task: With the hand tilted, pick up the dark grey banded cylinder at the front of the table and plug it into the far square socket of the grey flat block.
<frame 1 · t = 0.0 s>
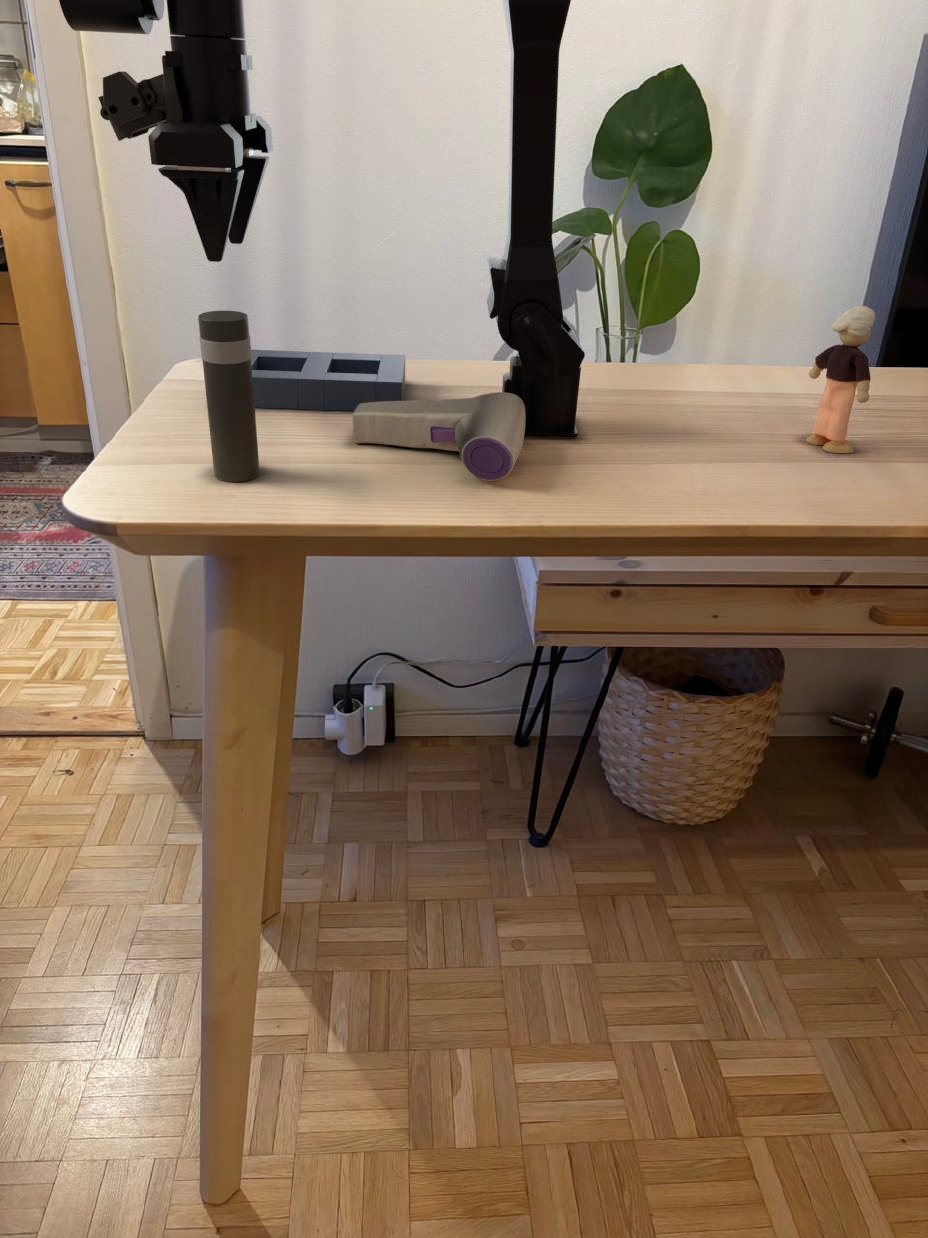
hand: (226, 251, 79), 15 cm above the table, tool pointing down, fingers open, 9 cm apart
grey flat block: (317, 394, 94), on the table
dark grey banded cylinder: (237, 473, 75), on the table
grandmother figurine: (824, 445, 87), on the table
infrared thermometer: (434, 459, 80), on the table
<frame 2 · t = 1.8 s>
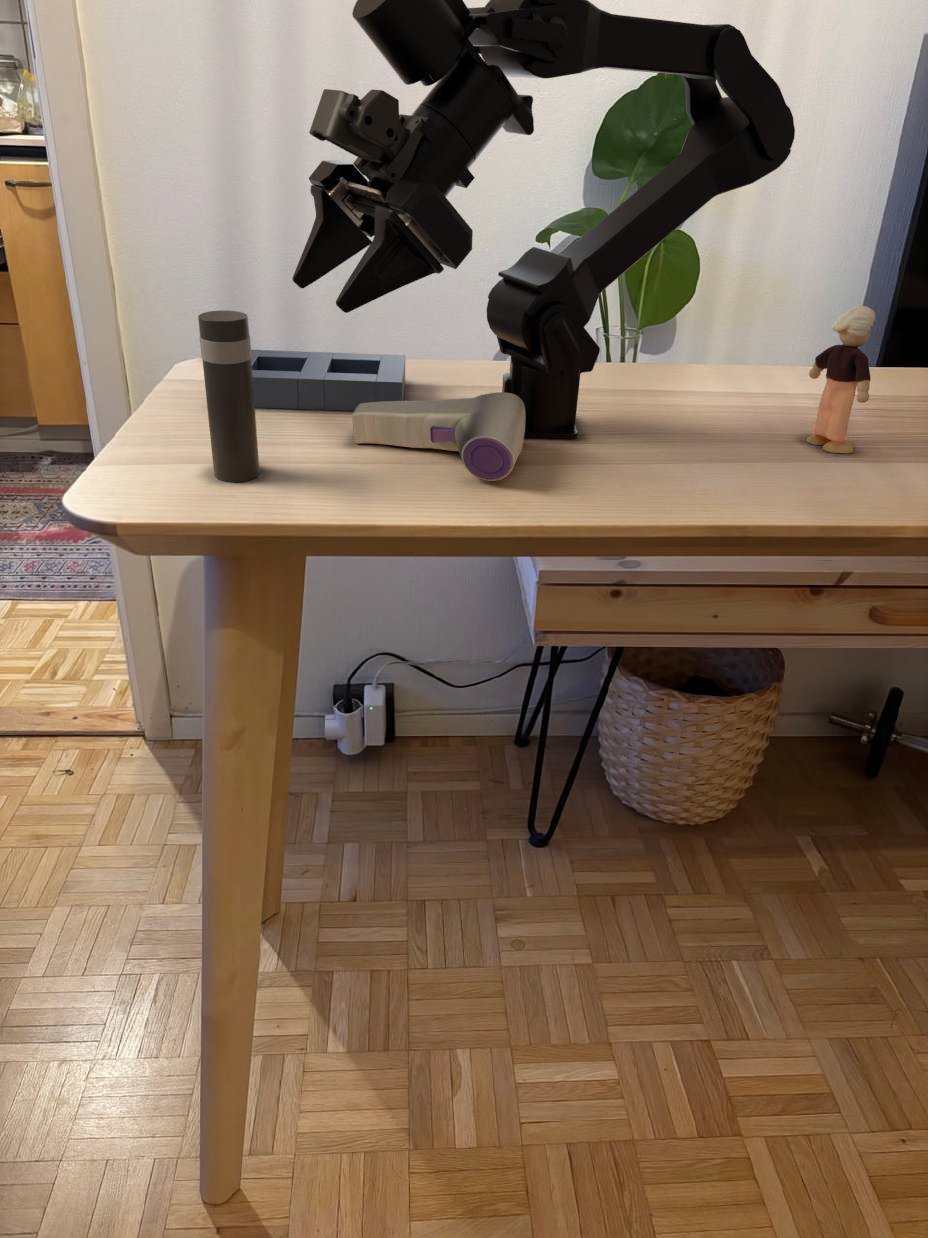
hand: (317, 295, 72), 13 cm above the table, tool tilted 45°, fingers open, 9 cm apart
nothing on the table moved.
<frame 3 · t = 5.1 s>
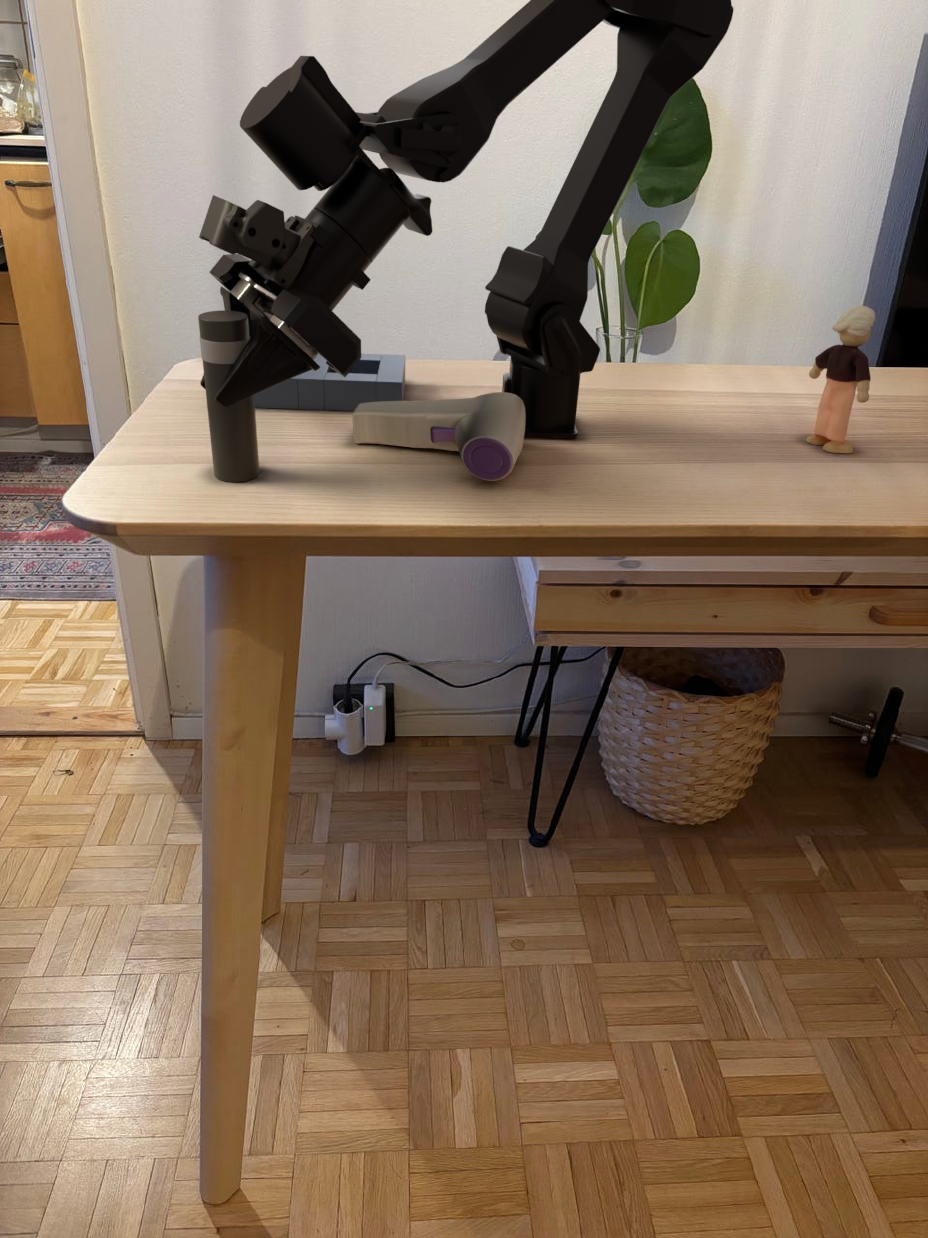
hand: (212, 395, 71), 7 cm above the table, tool tilted 45°, fingers closed on dark grey banded cylinder, 3 cm apart
dark grey banded cylinder: (237, 473, 75), on the table, touching gripper
everything else where it was.
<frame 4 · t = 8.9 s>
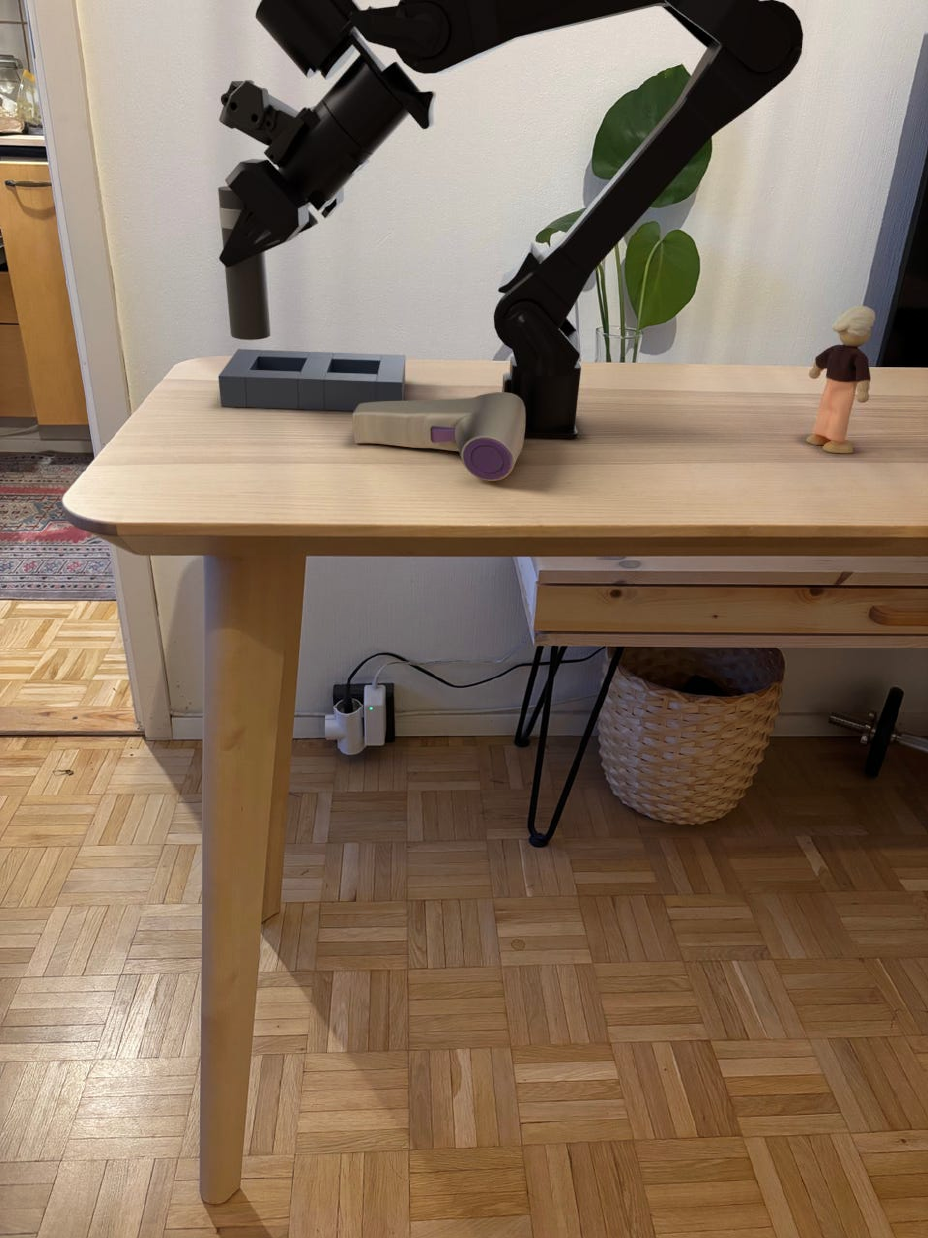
hand: (230, 259, 83), 14 cm above the table, tool tilted 45°, fingers closed on dark grey banded cylinder, 3 cm apart
dark grey banded cylinder: (250, 335, 86), point 7 cm above the table, touching gripper
everything else where it was.
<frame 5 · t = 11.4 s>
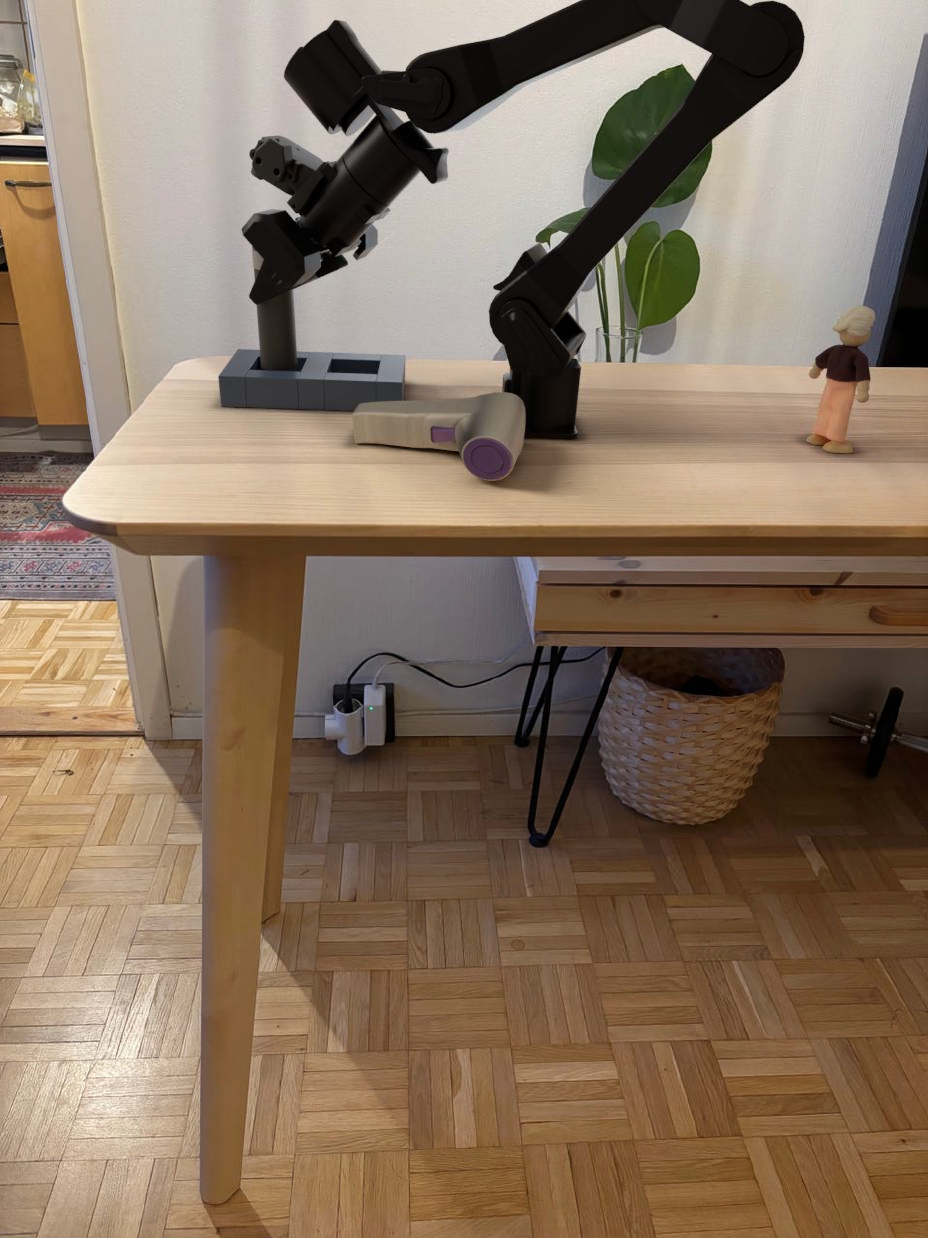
hand: (262, 296, 89), 9 cm above the table, tool tilted 45°, fingers closed on dark grey banded cylinder, 3 cm apart
dark grey banded cylinder: (279, 366, 92), point 3 cm above the table, touching gripper
everything else where it was.
when the fingers open (7 cm above the table, at t = 13.0 s): dark grey banded cylinder stays where it is, resting in grey flat block.
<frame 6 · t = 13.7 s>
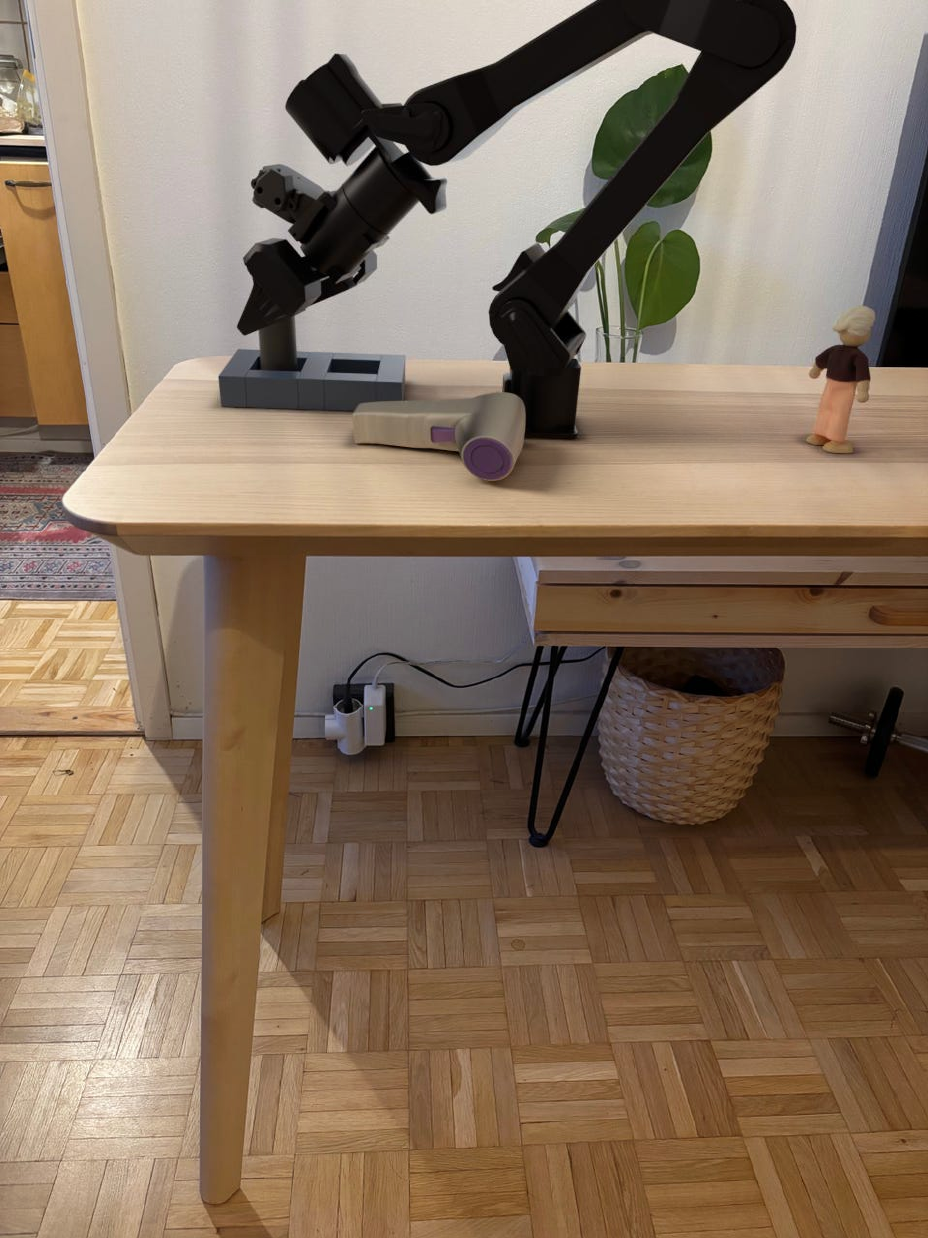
hand: (263, 320, 91), 7 cm above the table, tool tilted 45°, fingers open, 9 cm apart
dark grey banded cylinder: (280, 393, 94), resting in grey flat block
everything else where it was.
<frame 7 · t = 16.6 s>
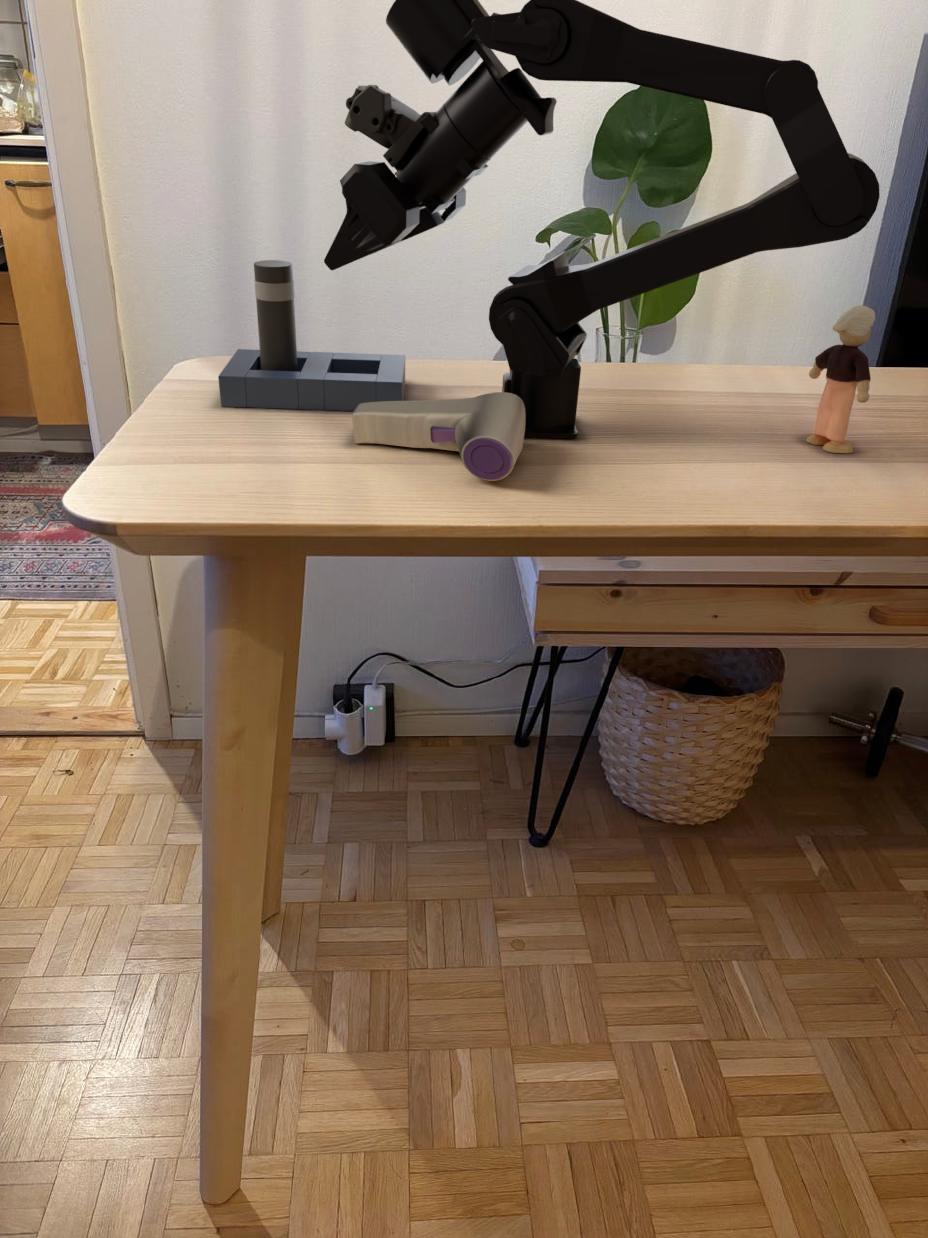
hand: (347, 257, 85), 14 cm above the table, tool tilted 45°, fingers open, 9 cm apart
nothing on the table moved.
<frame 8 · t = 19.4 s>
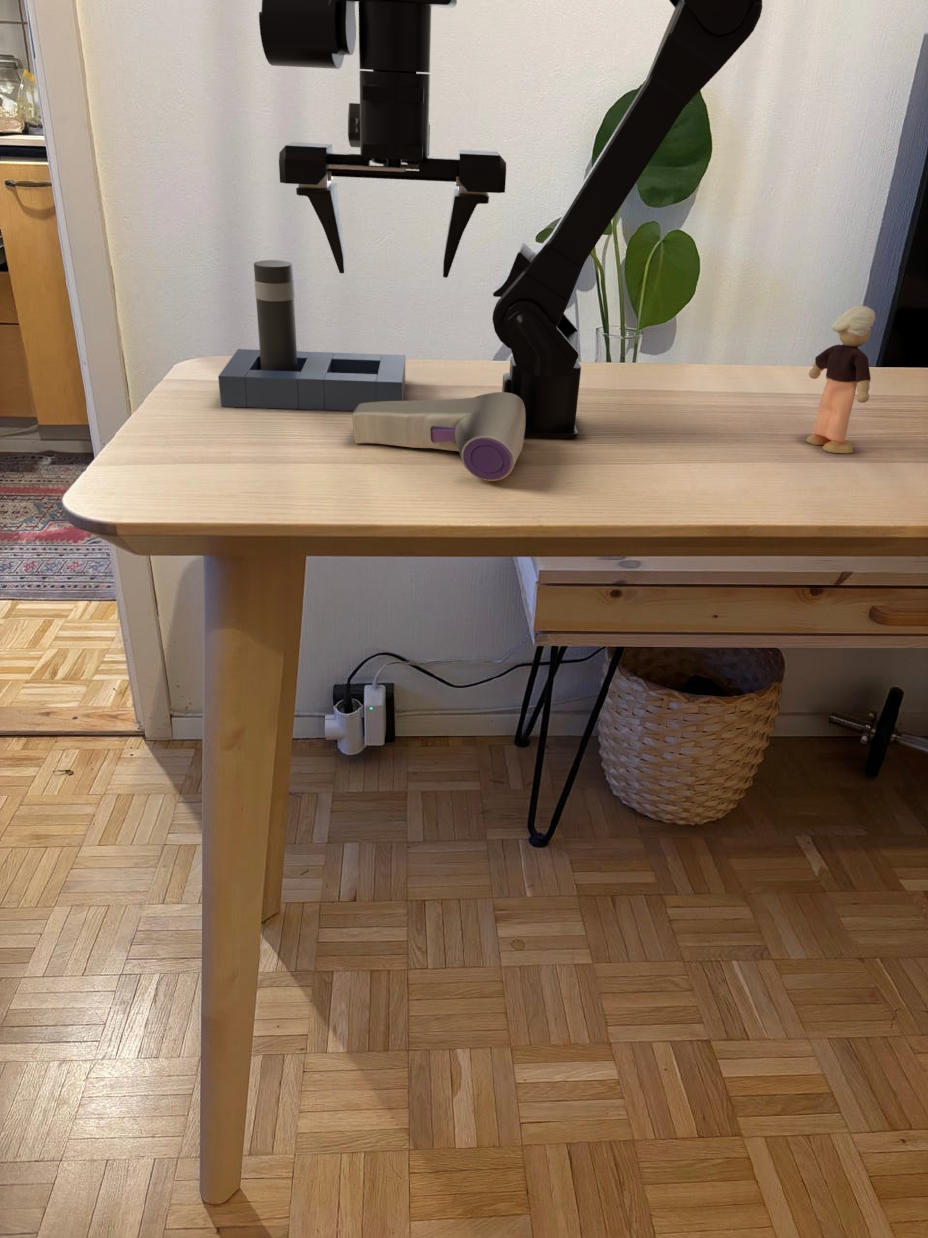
hand: (393, 274, 83), 13 cm above the table, tool pointing down, fingers open, 9 cm apart
nothing on the table moved.
at the end: dark grey banded cylinder 0.0 cm from the target spot in the grey flat block, point 0.0 cm above the grey flat block's base; dark grey banded cylinder tilted 0°; the gripper is holding nothing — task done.
